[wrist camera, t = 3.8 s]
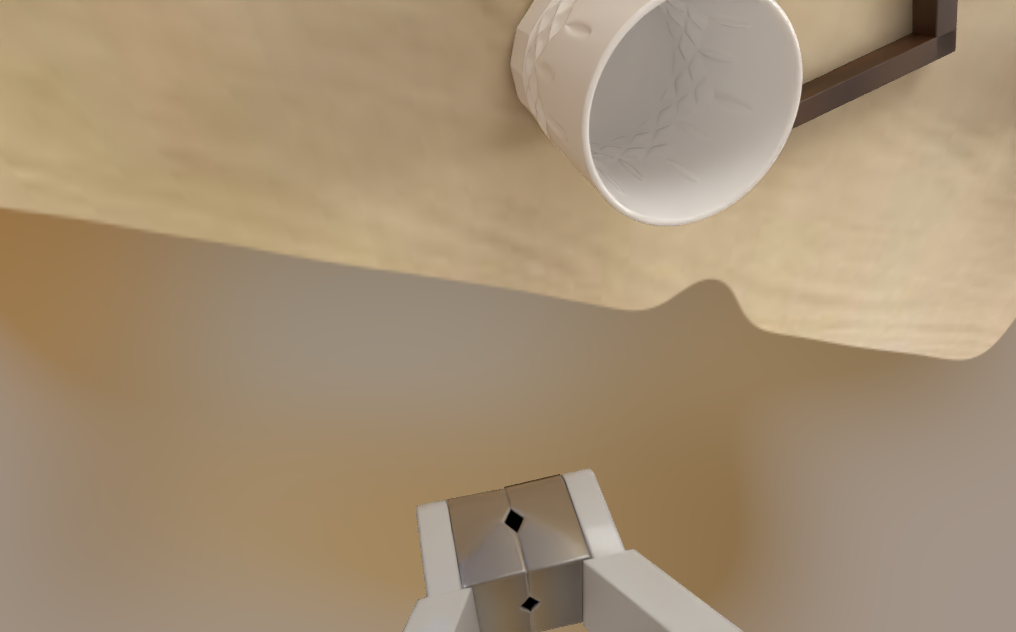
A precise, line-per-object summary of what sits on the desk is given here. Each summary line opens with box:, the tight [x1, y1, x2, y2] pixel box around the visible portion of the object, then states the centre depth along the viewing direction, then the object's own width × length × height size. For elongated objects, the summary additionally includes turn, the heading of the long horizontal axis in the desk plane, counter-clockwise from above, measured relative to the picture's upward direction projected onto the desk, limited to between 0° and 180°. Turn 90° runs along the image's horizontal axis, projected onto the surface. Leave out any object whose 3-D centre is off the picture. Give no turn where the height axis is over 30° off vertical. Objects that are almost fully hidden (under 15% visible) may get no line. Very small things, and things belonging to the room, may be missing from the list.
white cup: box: [510, 0, 803, 226], centre depth 26 cm, size 8×8×10 cm
